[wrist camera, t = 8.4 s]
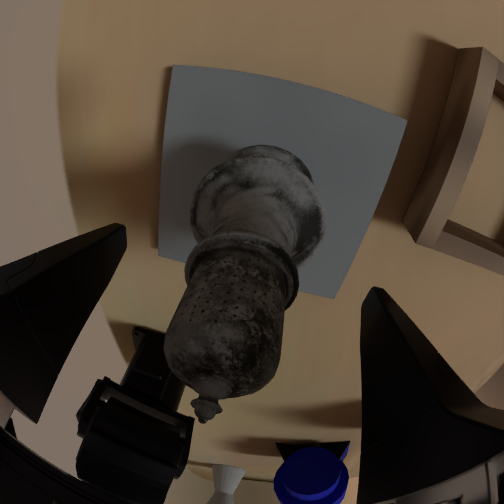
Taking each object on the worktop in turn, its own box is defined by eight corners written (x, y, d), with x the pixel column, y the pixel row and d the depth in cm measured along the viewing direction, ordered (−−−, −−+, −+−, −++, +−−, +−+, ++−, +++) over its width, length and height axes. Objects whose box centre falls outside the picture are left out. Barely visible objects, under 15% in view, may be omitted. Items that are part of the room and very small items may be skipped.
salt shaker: (190, 176, 15) (40, 356, 5) (283, 117, 12) (228, 268, 3) (249, 256, 17) (196, 459, 7) (339, 213, 15) (381, 444, 5)
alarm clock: (283, 457, 43) (273, 524, 31) (272, 438, 37) (259, 523, 25) (346, 454, 40) (343, 523, 28) (351, 435, 34) (348, 523, 22)
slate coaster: (333, 290, 19) (334, 299, 18) (162, 248, 19) (158, 255, 18) (402, 118, 12) (407, 120, 11) (179, 65, 12) (173, 64, 11)
